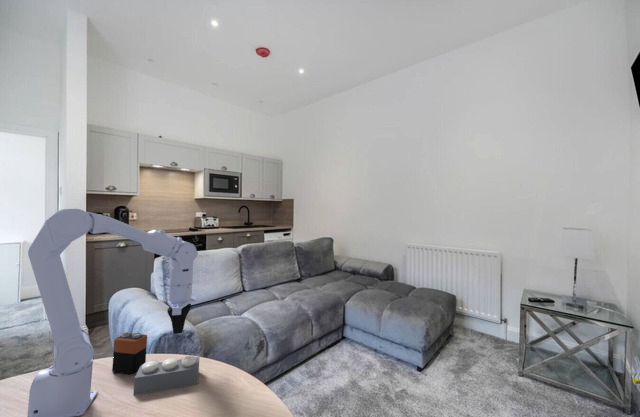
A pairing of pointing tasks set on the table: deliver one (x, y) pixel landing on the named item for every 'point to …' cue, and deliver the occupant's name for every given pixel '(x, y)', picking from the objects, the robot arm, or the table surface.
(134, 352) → the battery
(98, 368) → the table surface
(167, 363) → the knob middle
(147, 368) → the knob near
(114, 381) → the table surface
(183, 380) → the mount
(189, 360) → the knob far
